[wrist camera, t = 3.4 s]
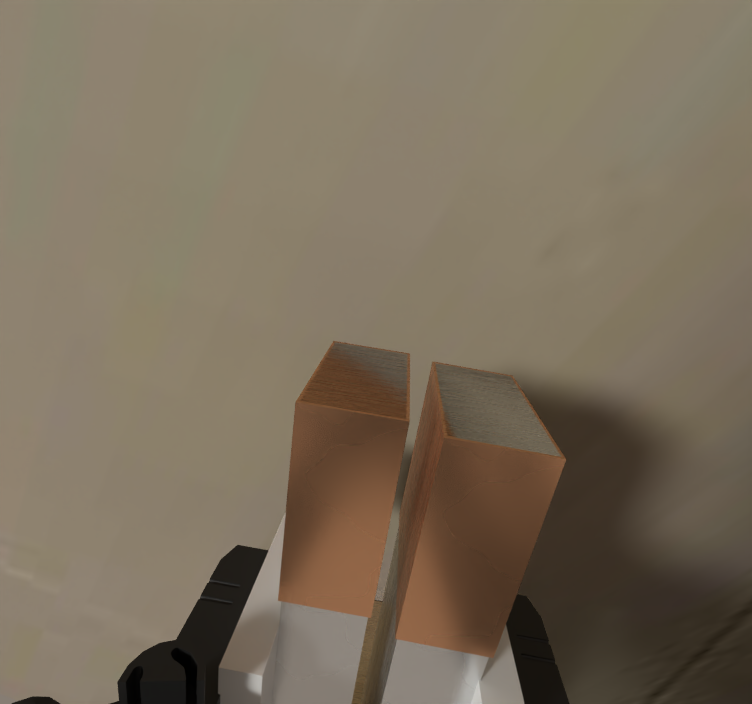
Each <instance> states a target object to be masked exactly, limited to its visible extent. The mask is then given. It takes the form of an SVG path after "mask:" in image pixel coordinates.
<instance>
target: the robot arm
mask: <svg viewBox="0 0 752 704" xmlns="http://www.w3.org/2000/svg"><path fill="white" fill-rule="evenodd" d="M285 516H286V511H285V514H284V516H283V518H282V521H281V523H280V525H279V528H278V530H277V532H276V535H275V537H274V539H273V542H272V544H271V546H270V549H269V551H268V550H263V549H257V548H252V547H246V546H241V545H237V546H236V547H235V548H234V549H232V550H231V551H230V552H229V553H228V554H227V555H226V556H224V557H223V558H222V559H221V560H220V562H219V564H218V565H217V567H216V569H215V571H214V573H213V574H212V576H211V578H210V581H209V583H207V585H206V587H205V589H204V591H203V592H202V594H201V597H200V599H199V600H198V601H197V603H196V605H195V607H194V608H193V610H192V612H191V614H190V616H189V617H188V619H187V621H186V623H185V625H184V626H183V628H182V630H181V632H180V634H179V635H178V637H177V639H176V640H173V641H168V642H162V643H159V644H157V645H155V646H153V647H151V648H149V649H147V650H145V651H143V652H142V653H141V654H140V655H139V656H138V657H137V658H136V659H134V660H133V661H132V662H131V663H130V664H129V665H128V666H127V668H126V670H125V671H124V673H123V674H122V676H121V677H120V679H119V680H118V693H119V701H117V702H114V703H110V704H272V695H273V684H274V674H275V663H276V652H277V641H278V631H279V620H280V609H281V601H278V594H279V583H280V572H281V560H282V549H283V538H284V527H285ZM12 704H60V703H58V702H57V701H55V700H53V699H52V698H50V697H30V698H27V699H24V700H21V701H17V702H15V703H12ZM471 704H569V701H568V698H567V695H566V692H565V689H564V686H563V683H562V680H561V677H560V674H559V671H558V668H557V665H555V659H554V656H553V653H552V649H551V646H550V645H549V644H548V637H547V634H546V631H545V628H544V625H543V622H542V619H541V617H540V615H539V614H538V612H537V611H536V609H535V608H534V607H533V605H532V604H531V602H530V601H529V599H528V598H527V597H526V596H522V595H516V598H515V601H514V603H513V606H512V609H511V612H510V614H509V617H508V620H507V622H506V625H505V628H504V631H503V633H502V636H501V639H500V642H499V644H498V647H497V650H496V652H495V655H494V658H490V657H489V659H488V661H487V664H486V667H485V670H484V672H483V675H482V678H481V681H480V680H479V681H478V684H477V687H476V690H475V693H474V695H473V698H472V701H471Z"/></svg>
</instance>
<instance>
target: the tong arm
mask: <svg viewBox="0 0 752 704" xmlns="http://www.w3.org/2000/svg"><path fill="white" fill-rule="evenodd" d="M565 462H566V458H565V457H564V455H563V454H562V452H561V451H560V449H559V447H558V446H557V444H556V443H555V441H554V440H553V438H552V437H551V435H550V433H549V432H548V430H547V429H546V427H545V426H544V424H543V423H542V421H541V419H540V418H539V416H538V415H537V413H536V412H535V410H534V409H533V407H532V405H531V404H530V402H529V401H528V399H527V398H526V396H525V395H524V393H523V391H522V390H521V388H520V387H519V385H518V384H517V382H516V381H515V379H514V377H513V376H511V375H506V374H500V373H494V372H489V371H483V370H477V369H472V368H466V367H460V366H455V365H449V364H443V363H438V362H432V367H431V372H430V376H429V381H428V385H427V390H426V394H425V399H424V404H423V408H422V413H421V417H420V422H419V426H418V431H417V436H416V440H415V445H414V449H413V454H412V459H411V463H410V468H409V472H408V477H407V481H406V486H405V491H404V495H403V500H402V504H401V509H400V516H399V529H398V533H397V538H396V542H395V547H394V552H393V556H392V561H391V565H390V570H389V574H388V579H387V583H386V588H385V592H384V597H383V601H382V606H381V610H380V615H379V620H378V624H377V629H376V633H375V638H374V642H373V647H372V651H371V656H370V660H369V665H368V669H367V674H366V678H365V683H364V688H363V692H362V697H361V701H360V704H471V701H472V698H473V695H474V693H475V690H476V687H477V684H478V681H479V680H480V681H481V678H482V675H483V672H484V670H485V667H486V664H487V661H488V659H489V657H490V658H494V655H495V652H496V650H497V647H498V644H499V642H500V639H501V636H502V633H503V631H504V628H505V625H506V622H507V620H508V617H509V614H510V612H511V609H512V606H513V603H514V601H515V598H516V595H517V593H518V590H519V587H520V584H521V582H522V579H523V576H524V573H525V571H526V568H527V565H528V563H529V560H530V557H531V554H532V552H533V549H534V546H535V543H536V541H537V538H538V535H539V533H540V530H541V527H542V524H543V522H544V519H545V516H546V513H547V511H548V508H549V505H550V503H551V500H552V497H553V494H554V492H555V489H556V486H557V484H558V481H559V478H560V475H561V473H562V470H563V467H564V464H565Z"/></svg>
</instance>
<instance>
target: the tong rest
mask: <svg viewBox="0 0 752 704" xmlns="http://www.w3.org/2000/svg"><path fill="white" fill-rule="evenodd" d="M409 412H410V354H409V353H403V352H397V351H391V350H385V349H378V348H372V347H366V346H360V345H354V344H348V343H342V342H336V341H333V343H332V344H331V346H330V348H329V349H328V351H327V352H326V354H325V356H324V357H323V359H322V361H321V362H320V364H319V365H318V367H317V369H316V370H315V372H314V373H313V375H312V377H311V378H310V380H309V381H308V383H307V385H306V386H305V388H304V390H303V391H302V393H301V394H300V396H299V398H298V399H297V401H296V403H295V415H294V426H293V437H292V448H291V459H290V471H289V482H288V493H287V504H286V516H285V527H284V538H283V549H282V560H281V572H280V583H279V594H278V601H281V609H280V620H279V631H278V641H277V652H276V663H275V674H274V684H273V695H272V704H360V701H361V697H362V692H363V688H364V683H365V678H366V674H367V669H368V665H369V660H370V656H371V651H372V647H373V642H374V638H375V633H376V629H377V624H378V620H379V615H380V610H381V606H382V602H380V601H374V600H375V595H376V590H377V585H378V580H379V575H380V569H381V564H382V559H383V554H384V549H385V544H386V539H387V534H388V529H389V523H390V518H391V513H392V508H393V503H394V498H395V493H396V488H397V483H398V478H399V472H400V467H401V462H402V457H403V452H404V447H405V442H406V437H407V432H408V426H409Z"/></svg>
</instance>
